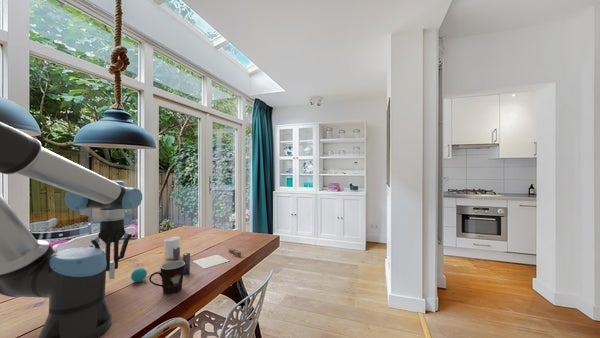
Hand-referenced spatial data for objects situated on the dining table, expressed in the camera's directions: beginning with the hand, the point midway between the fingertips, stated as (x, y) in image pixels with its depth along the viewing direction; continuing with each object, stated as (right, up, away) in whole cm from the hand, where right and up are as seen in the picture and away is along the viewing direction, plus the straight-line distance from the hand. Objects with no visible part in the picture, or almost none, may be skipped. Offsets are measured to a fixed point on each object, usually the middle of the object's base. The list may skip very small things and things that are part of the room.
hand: (111, 278), depth 92 cm
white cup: (+4, -6, +36) cm, 37 cm away
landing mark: (+28, -5, +30) cm, 41 cm away
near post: (+23, -5, +14) cm, 27 cm away
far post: (+13, -5, +23) cm, 27 cm away
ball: (+7, -2, +6) cm, 9 cm away
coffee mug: (+24, -5, -2) cm, 24 cm away
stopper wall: (+38, -6, +40) cm, 55 cm away
